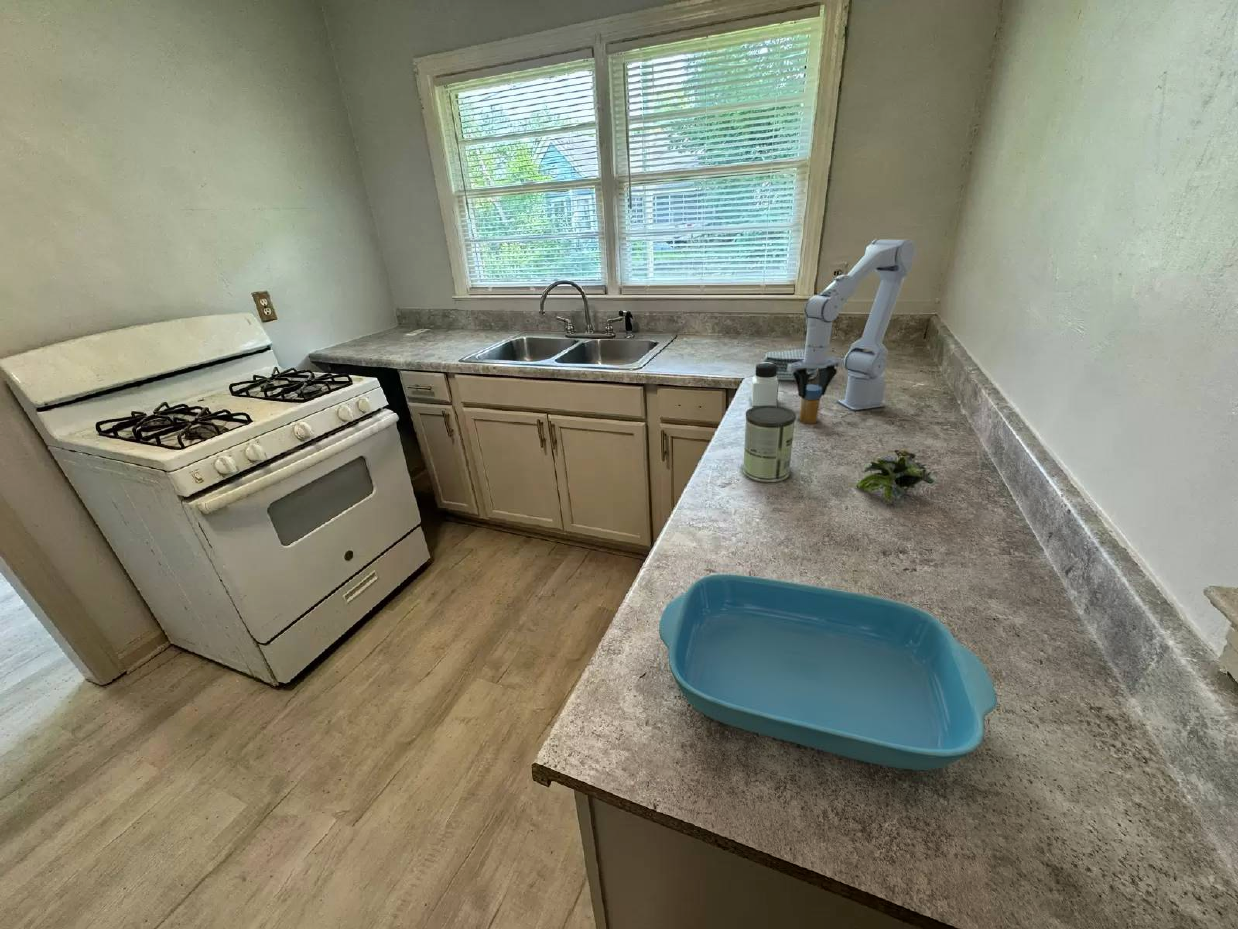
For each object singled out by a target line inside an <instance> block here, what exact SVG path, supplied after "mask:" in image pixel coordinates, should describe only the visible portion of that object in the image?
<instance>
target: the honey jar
mask: <svg viewBox="0 0 1238 929" xmlns="http://www.w3.org/2000/svg"><path fill="white" fill-rule="evenodd" d="M820 401H821V398H820V399H816V400H809V399H804V398H802V397H801V403H800V410H799V422H801V423H804V424H815V423H817V422H818V417H819V410H820Z"/></svg>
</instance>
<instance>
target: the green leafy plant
mask: <svg viewBox="0 0 1238 929" xmlns="http://www.w3.org/2000/svg"><path fill="white" fill-rule="evenodd" d="M894 453H895V454H896V456H897V457H896V456H891V455H889V456H888V454H887V455H886V456H883V457H882V456H881V457H876V462H875V461H872V460H870V463H869V464H868V466H867V467H866V468H865V469H864V471H863V473H865V474H866V473H869V472H873V471H874V472H875V471H879V472H875V473H872V474H870V475H867V476H865V477H864V478H862V479H861V480H860V481H859V482H858V483H857V484H856V489H859V490H860V491H861V490H862V491H863V492H869V491H870V492H871V491H874V490H878V489H883V488H884V489H883V491H884V495H885V497H886V499H887V500H888V501H889V502H891V501H892V492H893V495H894V500H893V502H892V503H891V504H890V506H893V505H895V503H896V502H897V501H898V499H899V498H900V497H901V496H902V495H904V494H906V493H907V491H909V489H914V488H915V487H916V485H917V484H919V483H921V482H925V483H927V484H934V482H935V480H934V479H933V478H931V476H930V475H931V471H928V472H927V468H926V464H925V463H922V462H919V461H915V459H916V457H917V454H916V453H914V452H910V451H908V450H905V449H904V450H900V449H894ZM921 463H922V464H921ZM893 490H894V491H893Z"/></svg>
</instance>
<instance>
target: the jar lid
mask: <svg viewBox="0 0 1238 929" xmlns="http://www.w3.org/2000/svg"><path fill="white" fill-rule="evenodd" d="M822 391H823V390H822V387H821V386H818V384H807V388H806V395H805V398H804V399H809V400H816V399H820V400H821V399H822V397H823V395H822Z"/></svg>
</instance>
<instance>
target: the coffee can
mask: <svg viewBox="0 0 1238 929" xmlns="http://www.w3.org/2000/svg"><path fill="white" fill-rule="evenodd" d="M796 418H797V414H796V412H795V411H794V410H792V409H791V408H788V407H784V406H780V405H777V406H772V405H766V406H752V407H750V408H749V409H747V410H746V411H745V428H744V430H745V432H744V448H743V466H742V473H743V475H745V476H746V477H747V478H749V479H751V480H753V481H757V482H761V483H777V482H781V481H784V480H786V479H788V477H789V476H790V473H791V471H790V470H791V462H792V461H791V460H792V452H793V450H792V449H793V440H794V431H795V422H796V421H795V420H796Z"/></svg>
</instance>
